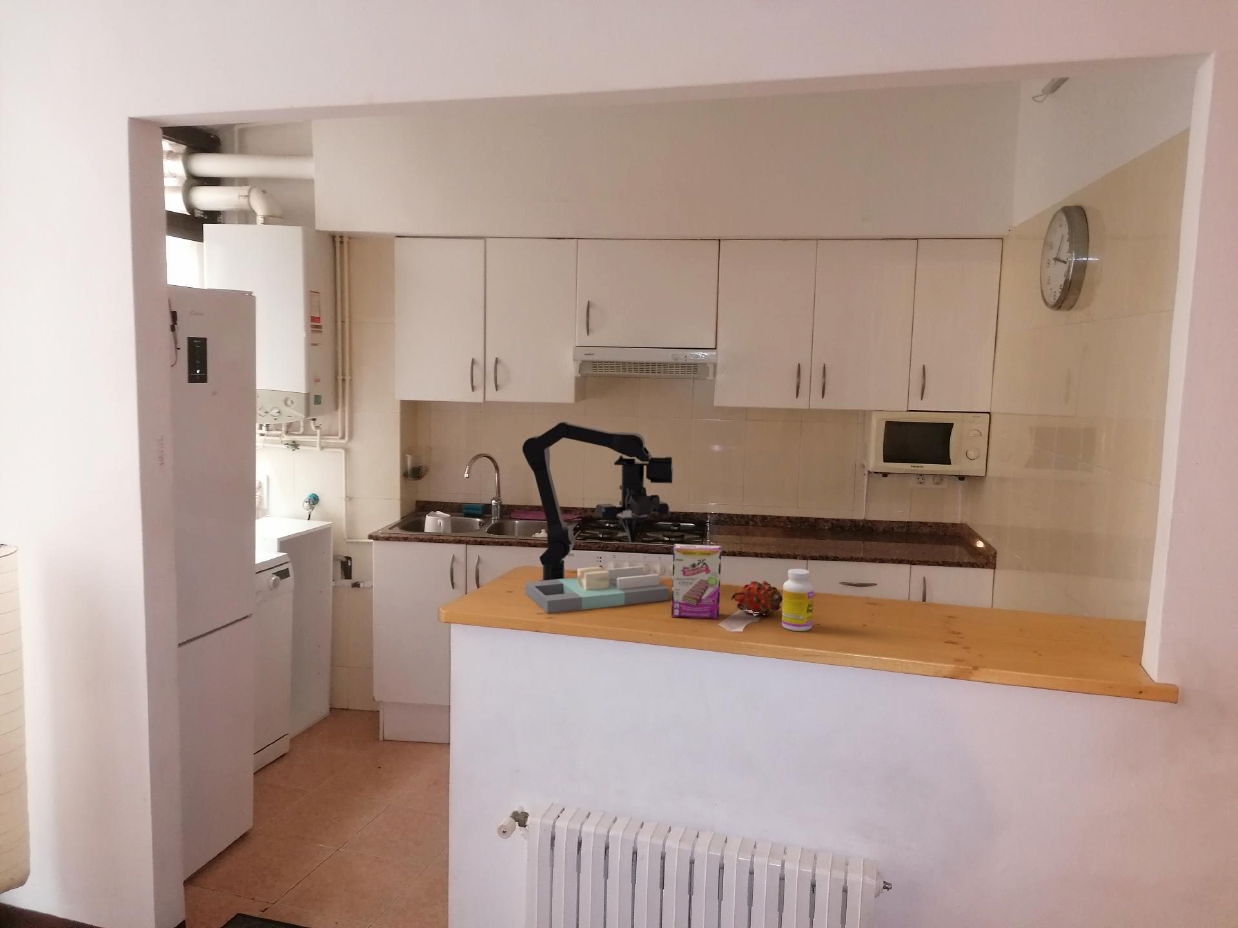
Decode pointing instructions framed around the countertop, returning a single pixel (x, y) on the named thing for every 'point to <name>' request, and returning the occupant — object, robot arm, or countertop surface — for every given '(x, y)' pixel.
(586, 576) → the beech block
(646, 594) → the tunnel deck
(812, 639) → the countertop surface
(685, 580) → the candy bar box
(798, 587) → the supplement bottle
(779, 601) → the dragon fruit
